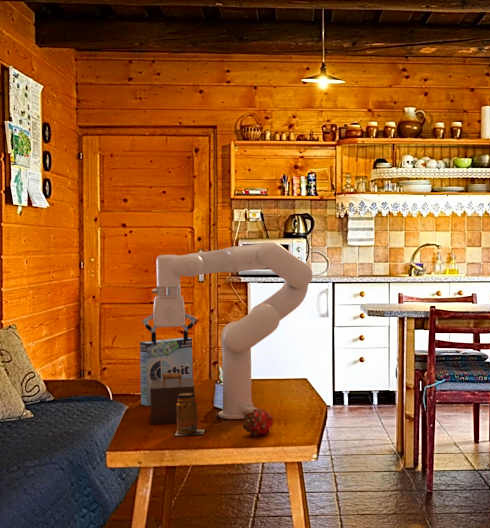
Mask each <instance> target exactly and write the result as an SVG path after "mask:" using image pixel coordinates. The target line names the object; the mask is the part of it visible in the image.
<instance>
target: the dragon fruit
mask: <svg viewBox="0 0 490 528" xmlns="http://www.w3.org/2000/svg"><path fill="white" fill-rule="evenodd" d="M273 424H274V419H273V418H272V416H271V415H270V413H269V412H268V411H266V410H265V409H263V408H259V409H258V408H257V410H254V411H252V412H250V413H249V414H246V415H245V416H244V421H243V425H242V428H243V430H245V431H246V432H247V433H250V434H251V435H252V436H254V437H259V436H260V435H268V434H269V433H270V429H271V427H272V426H273Z"/></svg>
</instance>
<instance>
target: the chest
mask: <svg viewBox="0 0 490 528" xmlns="http://www.w3.org/2000/svg"><path fill="white" fill-rule="evenodd" d="M150 392H151V406H150V425H165V424H166V425H167V424H177V408H176V406H177V403H178V401H177V400H178V397H177V396H178V394H181V393H194V394H195V388H194V389H181V390H161V391H150Z"/></svg>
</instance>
